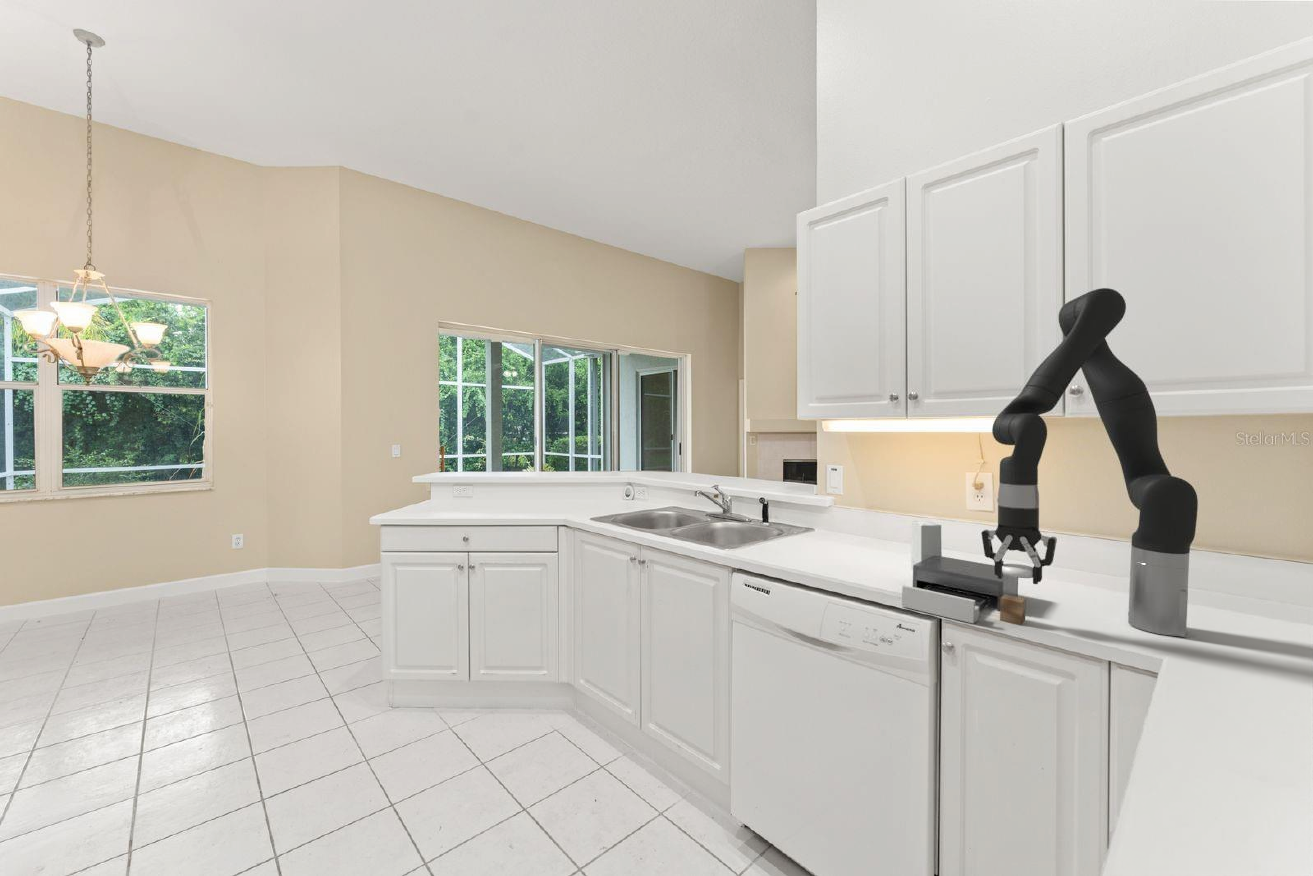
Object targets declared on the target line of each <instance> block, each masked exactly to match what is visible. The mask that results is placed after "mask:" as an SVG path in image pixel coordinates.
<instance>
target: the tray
mask: <svg viewBox="0 0 1313 876" xmlns="http://www.w3.org/2000/svg"><path fill="white" fill-rule="evenodd" d="M901 589H902V590H901V591H902V593H901V596H902V597H901V607H902V608H908V609H910V610H915V611H920V612H923V613H929V614H932V615H936V616H940V617H945V618H948V619H953V620H957V621H961V622H965V623H970V624H974V623H976V622H977V621H978V620H979V619H980V613H981V612H982V611H983V610H984V609H985V608H986V607H987V606H989V605H990V597H989V596H984V595H980V594H974V593H971V592H965V591H961V590H960V591H959V590H956V589H951V588H947V587H942V586H938V585H929V586H927V587H926V588H924V589H920V588H915V587H913V586H910V585H906V584H904V585H902V588H901Z"/></svg>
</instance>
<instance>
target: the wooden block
mask: <svg viewBox="0 0 1313 876" xmlns="http://www.w3.org/2000/svg"><path fill="white" fill-rule="evenodd" d="M1026 603H1027V598H1025V597H1020V596H1018V597H1016V596H1011V595H1006V594H1005V595H1004V596H1003V597H1001V604H1000V611H999V621H1001V622H1005V623H1010V624H1013V625H1018V626H1022V625H1023V624H1024V623H1025V622H1026V609H1027V607H1026V605H1027V604H1026Z"/></svg>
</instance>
